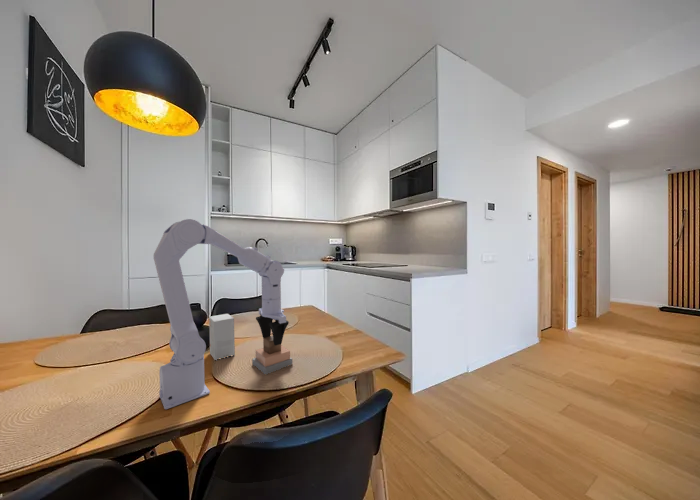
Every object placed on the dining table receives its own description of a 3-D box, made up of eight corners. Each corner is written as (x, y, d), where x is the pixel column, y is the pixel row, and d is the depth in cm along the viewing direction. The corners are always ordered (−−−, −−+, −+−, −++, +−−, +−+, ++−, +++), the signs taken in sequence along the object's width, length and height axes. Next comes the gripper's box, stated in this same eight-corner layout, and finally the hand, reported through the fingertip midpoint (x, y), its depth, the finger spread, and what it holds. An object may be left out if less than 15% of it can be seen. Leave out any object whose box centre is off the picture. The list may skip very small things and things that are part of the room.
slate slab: (265, 376, 75) (265, 368, 75) (252, 366, 81) (252, 358, 81) (292, 366, 81) (292, 358, 81) (278, 357, 88) (278, 350, 88)
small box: (235, 355, 88) (234, 317, 88) (214, 361, 84) (213, 321, 84) (228, 348, 94) (228, 313, 94) (209, 353, 90) (208, 316, 90)
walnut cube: (269, 354, 79) (269, 341, 78) (263, 350, 81) (263, 338, 81) (281, 350, 81) (281, 338, 81) (275, 347, 84) (275, 334, 84)
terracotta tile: (265, 366, 76) (265, 358, 76) (255, 357, 82) (255, 349, 82) (290, 358, 81) (290, 351, 81) (279, 350, 87) (279, 343, 87)
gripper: (294, 299, 78) (295, 343, 79) (272, 293, 89) (273, 332, 89) (273, 303, 74) (274, 350, 74) (252, 296, 84) (253, 337, 84)
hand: (272, 340), depth 81 cm, fingers open, 7 cm apart
